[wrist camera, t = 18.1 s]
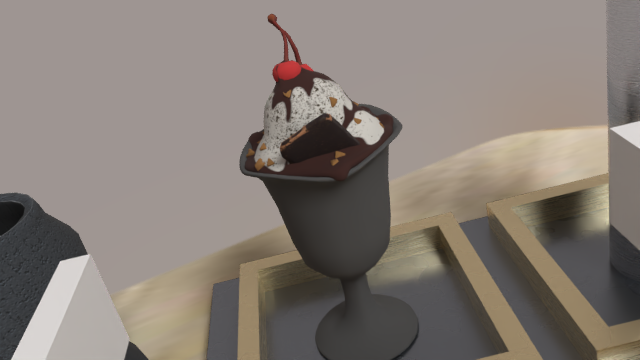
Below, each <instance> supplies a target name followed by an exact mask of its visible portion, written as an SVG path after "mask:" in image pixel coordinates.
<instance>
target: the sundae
mask: <svg viewBox="0 0 640 360" xmlns="http://www.w3.org/2000/svg"><path fill="white" fill-rule="evenodd" d="M268 21H269V22H270V23H271V24H273V25H274V26H275V27H276V28H277V29H278V30H280V31H281V33H282V36H283V40H284V61H282V62H281V63H279V64H277V65H276V66H275V67H274V69H273V77H274V79H275V81H276V85H275V88H274V90H273V91H272V93H271V94H270V96H269V98H268V100H267V102H266V105H265V111H264V129H263V130H262V131H260V132H256V133H253V134H252V135H251V136H250V137H249V140H248V142H247V144H246V145H245V147H244V149H243V151H242V154H241V157H240V170H241V172H242V173H243V174H244V175H247V176H252V177H257V178H259V179H260V180H262V181H263V182H264V184H265V186H266V187H267V189H268V191H269V193H270V194H271V196H272V198H273V200H274V201H275V203H276V205H277V207H278V209H279V211H280V214H281V216H282V218H283V220H284V223H285V225H286V227H287V230H288V232H289V234H290V236H291V239H292V241H293V243H294V245H295V247H296V248H297V250H298V252H299V254H300V255H301V257H302V259H303V261H304V262H305V264H306V265H307V266H308V267H309V268H311V269H313V270H315V271H317V272H319V273H321V274H323V275H325V276H327V277H331V278H337V279H340V281H341V284H342V288H343V292H344V296H345V301H343V302H341V303H340V304H338V305H336V306H335V307H334V308H332V309H331V310H330V311H329V312H328V313H327V314H326V315H325V316H324V318H323V319H322V320H321V322H320V323H319V324H318V327H317V330H316V335H315V341H316V345H317V348H318V350H319V352H320V353H321V354H322V355H323V356H324V357H325V358H327V359H328V360H392V359H393V358H395V357H396V356H398V355H400V354H401V353H402V352H403V351H404V350H406V349H407V348H408V347H409V346H410V344H411V343H412V341H413V340H414V338H415V336H416V334H417V331H418V318H417V316H416V314H415V312H414V310H413V309H412V308H411V306H410V305H408V304H407V303H406V302H404V301H402V300H400V299H398V298H396V297H391V296H387V295H381V294H372V293H371V291H370V288H369V285H368V280H367V275H366V272H368V271H369V270H370V269H372V268H373V267H374V266H375V265H376V264H377V262H378V261H379V260H380V258H381V257H382V256H383V254H384V253H385V251H386V250H387V248H388V245H389V241H390V220H391V213H390V197H389V182H388V146H389V144H390V143H391V142H392V140H394V139H395V137H397V136H398V134H399V133H400V131H401V129H402V124H401V123H400V122H399V121H398V120H397V119H396V118H395V117H393V116H392V115H391V114H390V113H388V112H386V111H384V110H382V109H380V108H377V107H374V106H372V105H366V104H357V103H355V102H353V101H352V100H350V99H349V98H348V96H347V95H346V94H345V93H344V91H343V90H342V88H341V87H340V86H339V85H338V84H337V83H336V82H334V81H333V80H332V79H331V78H329V77H328V76H326V75H324V74H322V73H318V72H314V71H313V70H312V69H311V68H310V67H309V66H308V65H307V64H302V62H301V59H300V56H299V53H298V50H297V48H296V46H295V44H294V43H293V41H292V39H291V37H290V36H289V35H288V33H287V32H286V31H284V30H283V29H282V28H281V27H280V26H279V25H278V24H277V22H276V21H277V17H276V16H275V15H274V14H270V15H269V16H268ZM285 35H286V36H285ZM286 37H287V39H288V41H289V43H290V45H291V47H292V49H293V52H294V54H295V58H296V62H295V61H292V60H291V61H289V59H288V44H287V39H286Z"/></svg>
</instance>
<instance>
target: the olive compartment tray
mask: <svg viewBox="0 0 640 360" xmlns="http://www.w3.org/2000/svg"><path fill="white" fill-rule="evenodd" d="M606 12H607V13H606V14H607V15H606V16H607V86H608V87H607V89H608V90H607V92H608V172H609V173H607V174H603V175H599V176H595V177H591V178H587V179H583V180H578V181H574V182H570V183H566V184H562V185H558V186H554V187H550V188H546V189H542V190H538V191H534V192H530V193H526V194H522V195H518V196H514V197H510V198H506V199H502V200H498V201H494V202H490V203H486V205H487V214H488V216H487V217H483V218H479V219H475V220H471V221H467V222H463V223H459V224H458V222H457V221H456V219H455V218H454V216H453V214H452V213H451V212H449V213H445V214H441V215H437V216H433V217H429V218H425V219H421V220H417V221H413V222H409V223H405V224H401V225H397V226H393V227H390V241H389V245H388V248H387V250H386V251H385V253H384V254H383V256H382V257H381V258H380V260H379V261H378V262H377V264H376V265H375V266H374V267H373V268H372V269H370V270H369V271H368V272H366V275H367V280H368V285H369V288H370V291H371V293H372V294H381V295H387V296H391V297H396V298H398V299H400V300H402V301H404V302H406V303H407V304H408V305H410V306H411V308H412V309H413V310H414V312H415V314H416V316H417V318H418V331H417V334H416V336H415V338H414V340H413V341H412V343H411V344H410V346H409V347H408V348H407V349H406V350H404V351H403V352H402V353H401V354H400V355H398V356H396V357H395V358H393V359H392V360H640V250H638V249H637V248H636V247H635V246H634V245H633V244H632V243H631V242H630V241H629V240H628V239H627V238H626V237H625V236H624V235H622V234H621V233H620V232H619V231H618V230H617V229H616V228H615V227H614V226H613V225H612V224H611V223H610V128H613V127H617V126H621V125H625V124H629V123H634V122H638V121H640V0H606ZM343 301H345V296H344V292H343V288H342V284H341V281H340V279H337V278H331V277H327V276H325V275H323V274H321V273H319V272H317V271H315V270H313V269H311V268H309V267H308V266H307V265H306V264H305V262H304V261H303V259H302V257H301V255H300V254H299V252H298V250H295V251H291V252H287V253H283V254H279V255H275V256H271V257H267V258H263V259H259V260H255V261H251V262H247V263H243V264H240V278H236V279H232V280H228V281H224V282H220V283H216V284H214V286H213V297H212V308H211V319H210V330H209V341H208V352H207V360H328V359H327V358H325V357H324V356H323V355H322V354H321V353H320V352H319V350H318V348H317V345H316V341H315V335H316V330H317V327H318V324H319V323H320V322H321V320H322V319H323V318H324V316H325V315H326V314H327V313H328V312H329V311H330V310H331V309H332V308H334V307H335V306H336V305H338V304H340V303H341V302H343Z"/></svg>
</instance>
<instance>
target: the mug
mask: <svg viewBox="0 0 640 360" xmlns="http://www.w3.org/2000/svg"><path fill="white" fill-rule="evenodd" d="M84 255H88V254H87V252H86V249H85V247H84V245H83V243H82V241H81V239H80V237H79V234H78V233H77V232H76V231H74V230H73V229H72V228H71V227H70V226H69V225H67V224H65V223H63V222H61V221H59V220H58V219H56V218H54V217H52V216H50V215H48V214H47V213H45V212H44V211H43V209H42V208H41V207H40V205H39V204H38V203H37V202H36V201H35V200H34V199H32V198H31V197H30V196H28V195H26V194H21V193H6V194H0V360H11V359H12V357H13V355H14V353H15V351H16V349H17V347H18V345H19V343H20V341H21V339H22V337H23V335H24V333H25V331H26V329H27V327H28V325H29V323H30V321H31V319H32V317H33V315H34V313H35V311H36V309H37V307H38V305H39V303H40V301H41V299H42V297H43V295H44V293H45V291H46V289H47V287H48V285H49V283H50V281H51V279H52V277H53V275H54V273H55V271H56V269H57V267H58V265H59V263H60V261H63V260H67V259H71V258H76V257H80V256H84ZM124 360H148V358H147V357H146V356H145V355H144V354H143V353H142V352H141V351H140V350H139V348H138V347H137V346H136V345H135V344H133V343H131V342H130V341H129V343H128V347H127V351H126V354H125V358H124Z"/></svg>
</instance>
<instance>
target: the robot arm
mask: <svg viewBox="0 0 640 360" xmlns="http://www.w3.org/2000/svg"><path fill="white" fill-rule="evenodd" d="M610 223H611V224H612V225H613V226H614V227H615V228H616V229H617V230H618V231H619V232H620V233H621V234H622V235H624V236H625V237H626V238H627V239H628V240H629V241H630V242H631V243H632V244H633V245H634V246H635V247H636V248H637V249H638V250H640V121H638V122H634V123H629V124H625V125H621V126H617V127H613V128H610ZM128 343H129V336H128V334H127V332H126V330H125V328H124V325H123V323H122V321H121V319H120V317H119V315H118V312H117V310H116V308H115V306H114V304H113V302H112V299H111V297H110V295H109V293H108V291H107V289H106V286H105V284H104V282H103V280H102V278H101V276H100V273H99V271H98V269H97V267H96V265H95V262H94V261H93V258H92V256H91V254H88V255H84V256H80V257H76V258H71V259H67V260H63V261H60V263H59V265H58V267H57V269H56V271H55V273H54V275H53V277H52V279H51V281H50V283H49V285H48V287H47V289H46V291H45V293H44V295H43V297H42V299H41V301H40V303H39V305H38V307H37V309H36V311H35V313H34V315H33V317H32V319H31V321H30V323H29V325H28V327H27V329H26V331H25V333H24V335H23V337H22V339H21V341H20V343H19V345H18V347H17V349H16V351H15V353H14V355H13V357H12V359H11V360H124V358H125V354H126V351H127V347H128Z"/></svg>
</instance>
